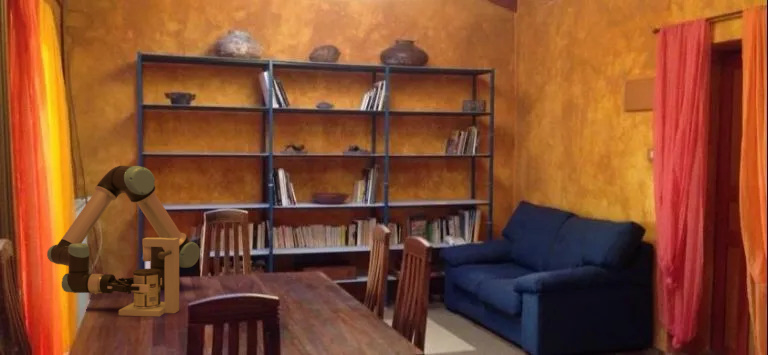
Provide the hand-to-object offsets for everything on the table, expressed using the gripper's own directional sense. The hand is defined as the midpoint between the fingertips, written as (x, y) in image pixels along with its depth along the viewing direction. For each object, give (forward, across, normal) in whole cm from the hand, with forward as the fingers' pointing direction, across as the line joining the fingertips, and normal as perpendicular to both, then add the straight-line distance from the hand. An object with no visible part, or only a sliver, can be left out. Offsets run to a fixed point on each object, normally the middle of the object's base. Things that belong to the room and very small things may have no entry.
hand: (155, 284), depth 276 cm
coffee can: (-3, 0, -9) cm, 9 cm away
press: (-1, +2, -10) cm, 11 cm away
